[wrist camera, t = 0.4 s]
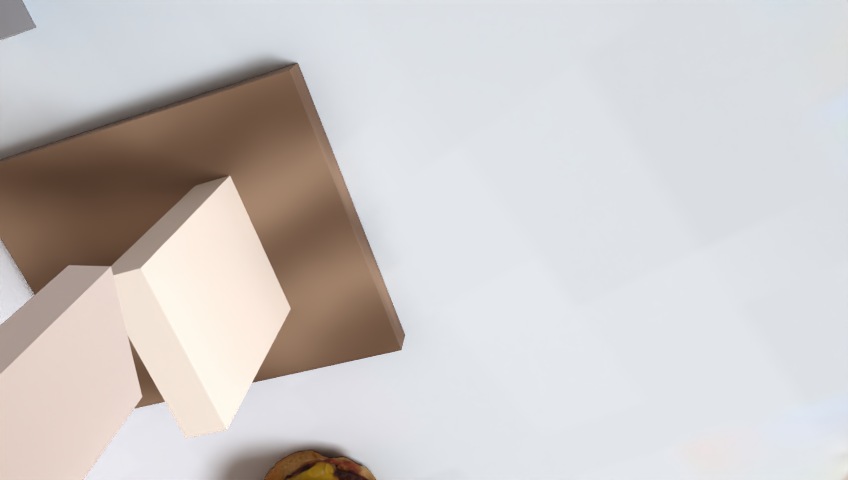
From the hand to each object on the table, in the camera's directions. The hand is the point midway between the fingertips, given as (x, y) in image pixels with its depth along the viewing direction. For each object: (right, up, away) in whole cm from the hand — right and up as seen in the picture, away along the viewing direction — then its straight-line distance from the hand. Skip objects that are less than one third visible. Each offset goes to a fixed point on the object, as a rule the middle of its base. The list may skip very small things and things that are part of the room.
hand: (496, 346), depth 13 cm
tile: (-11, +1, +27) cm, 29 cm away
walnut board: (-14, +1, +29) cm, 32 cm away
